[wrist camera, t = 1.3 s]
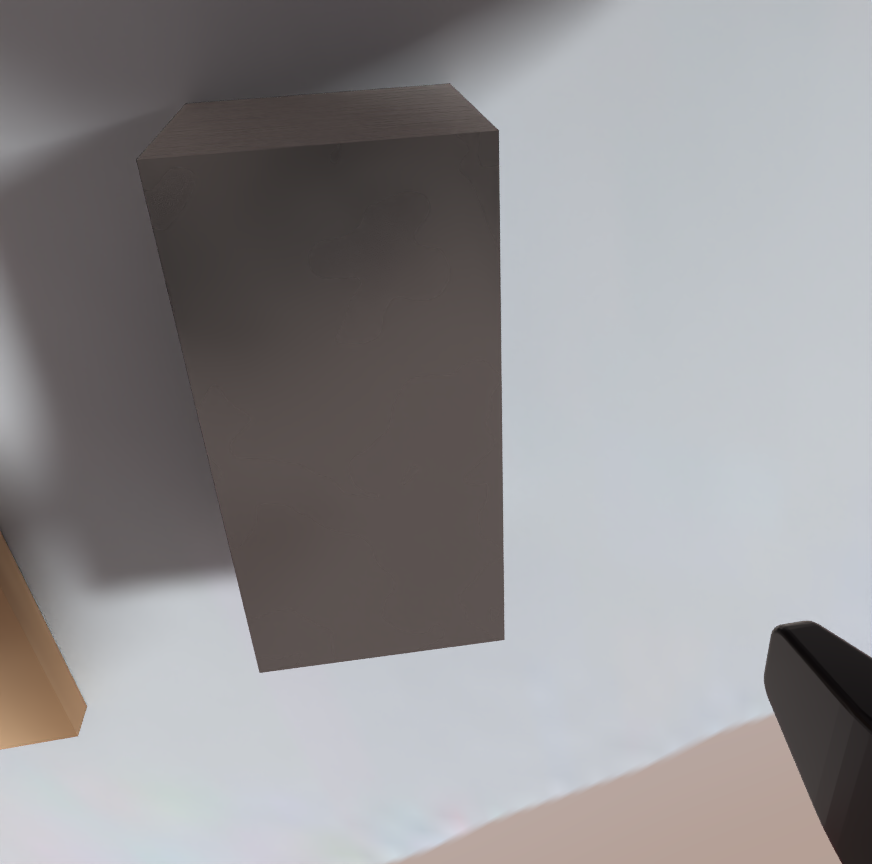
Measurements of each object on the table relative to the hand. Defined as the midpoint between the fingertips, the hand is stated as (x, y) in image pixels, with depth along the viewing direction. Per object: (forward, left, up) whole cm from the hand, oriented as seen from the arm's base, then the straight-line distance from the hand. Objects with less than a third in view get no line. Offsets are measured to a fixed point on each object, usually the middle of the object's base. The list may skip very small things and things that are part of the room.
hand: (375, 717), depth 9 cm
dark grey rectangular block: (0, 0, -11) cm, 11 cm away
